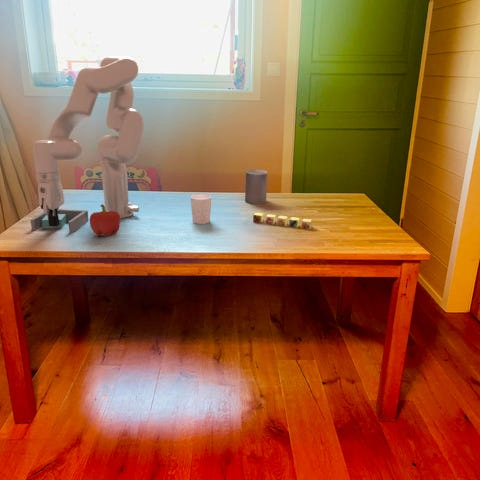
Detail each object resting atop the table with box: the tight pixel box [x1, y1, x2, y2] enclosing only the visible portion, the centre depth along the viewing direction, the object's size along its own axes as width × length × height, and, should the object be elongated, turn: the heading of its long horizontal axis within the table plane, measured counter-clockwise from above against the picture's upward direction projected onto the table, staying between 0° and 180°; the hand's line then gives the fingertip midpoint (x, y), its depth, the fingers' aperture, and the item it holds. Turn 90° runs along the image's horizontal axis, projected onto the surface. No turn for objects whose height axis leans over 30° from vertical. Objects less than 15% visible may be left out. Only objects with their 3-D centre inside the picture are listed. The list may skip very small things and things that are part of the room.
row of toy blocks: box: [252, 212, 313, 230], centre depth 183 cm, size 32×32×3 cm
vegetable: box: [89, 204, 121, 237], centre depth 169 cm, size 11×10×10 cm
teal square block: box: [41, 214, 68, 229], centre depth 178 cm, size 7×7×4 cm
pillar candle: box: [244, 168, 268, 205], centre depth 213 cm, size 10×10×15 cm
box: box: [30, 208, 89, 233], centre depth 178 cm, size 15×14×4 cm
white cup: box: [190, 193, 212, 225], centre depth 185 cm, size 8×8×10 cm
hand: (54, 225), depth 173 cm, fingers closed
